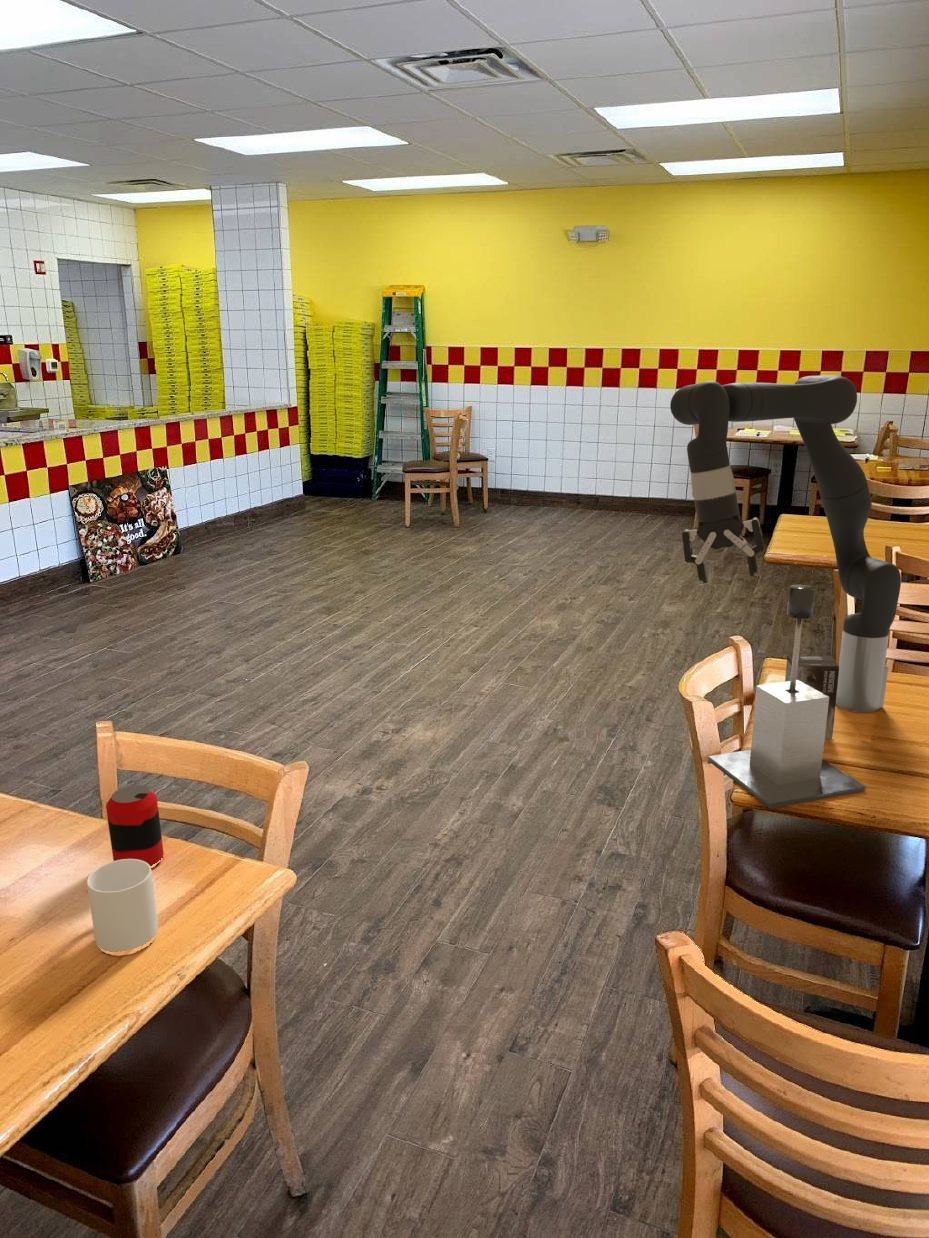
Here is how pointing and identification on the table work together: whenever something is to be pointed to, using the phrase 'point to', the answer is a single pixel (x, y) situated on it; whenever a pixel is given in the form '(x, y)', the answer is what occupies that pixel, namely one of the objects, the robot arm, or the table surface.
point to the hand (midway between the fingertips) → (728, 579)
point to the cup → (122, 904)
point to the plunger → (799, 620)
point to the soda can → (135, 825)
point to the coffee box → (818, 681)
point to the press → (787, 750)
